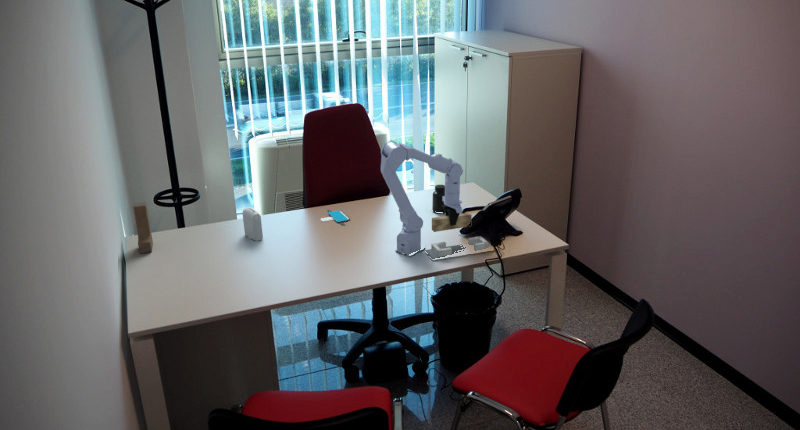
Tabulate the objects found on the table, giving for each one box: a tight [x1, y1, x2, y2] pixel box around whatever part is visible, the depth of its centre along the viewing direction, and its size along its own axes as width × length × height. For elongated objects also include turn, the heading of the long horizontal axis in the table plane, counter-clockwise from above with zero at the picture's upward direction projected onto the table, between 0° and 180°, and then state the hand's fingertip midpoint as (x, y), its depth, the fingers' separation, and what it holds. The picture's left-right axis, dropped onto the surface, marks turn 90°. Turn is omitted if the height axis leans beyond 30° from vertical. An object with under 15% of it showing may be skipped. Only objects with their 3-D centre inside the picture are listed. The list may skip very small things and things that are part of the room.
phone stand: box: [320, 209, 351, 227], centre depth 281 cm, size 20×12×2 cm, turn 25°
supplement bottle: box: [431, 184, 445, 212], centre depth 286 cm, size 7×7×12 cm
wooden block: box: [132, 201, 154, 254], centre depth 250 cm, size 9×4×18 cm, turn 16°
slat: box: [431, 212, 473, 233], centre depth 252 cm, size 16×2×5 cm, turn 110°
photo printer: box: [242, 207, 264, 242], centre depth 261 cm, size 10×4×12 cm, turn 39°
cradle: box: [424, 235, 490, 259], centre depth 247 cm, size 26×8×4 cm, turn 109°
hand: (451, 223), depth 252 cm, fingers closed on slat, 2 cm apart
